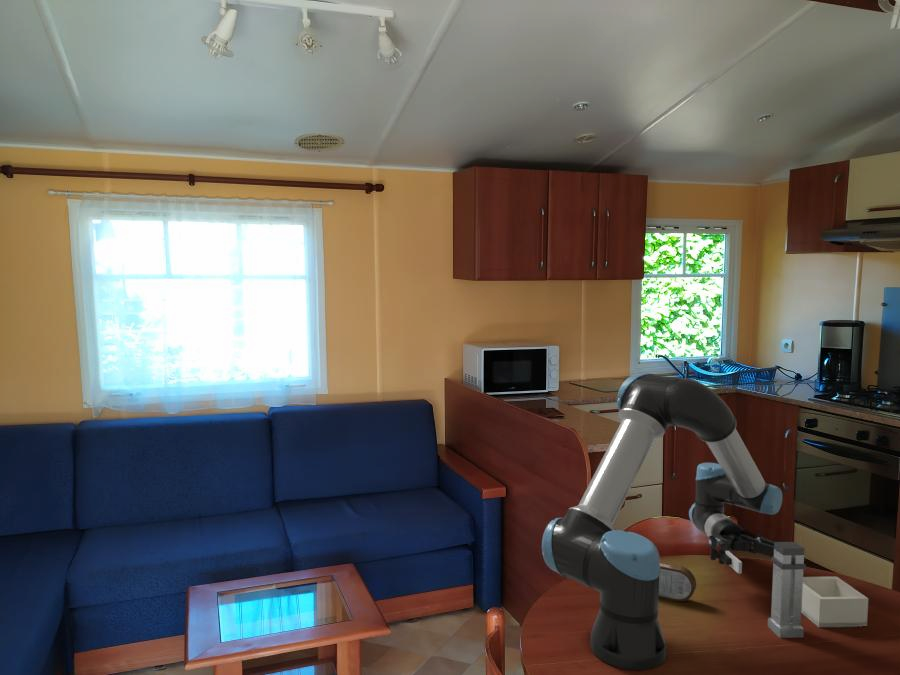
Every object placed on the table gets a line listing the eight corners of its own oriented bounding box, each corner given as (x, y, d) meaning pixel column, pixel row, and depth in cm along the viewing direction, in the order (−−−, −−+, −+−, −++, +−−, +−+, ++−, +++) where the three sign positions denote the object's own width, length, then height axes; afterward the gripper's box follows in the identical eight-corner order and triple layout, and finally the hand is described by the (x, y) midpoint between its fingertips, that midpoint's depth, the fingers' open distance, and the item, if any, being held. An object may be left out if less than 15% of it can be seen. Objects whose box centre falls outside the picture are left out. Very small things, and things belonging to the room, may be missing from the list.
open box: (818, 627, 143) (820, 599, 142) (790, 603, 154) (791, 577, 153) (866, 626, 143) (868, 598, 143) (835, 602, 154) (836, 576, 154)
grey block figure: (779, 637, 138) (783, 549, 137) (767, 626, 143) (771, 541, 142) (803, 637, 139) (807, 549, 137) (790, 625, 143) (794, 540, 142)
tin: (695, 600, 155) (696, 566, 154) (694, 606, 152) (695, 572, 152) (632, 587, 162) (633, 554, 161) (629, 592, 159) (630, 559, 158)
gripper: (770, 546, 170) (820, 582, 149) (678, 547, 169) (715, 584, 148) (772, 518, 170) (822, 551, 149) (679, 519, 168) (716, 552, 147)
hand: (769, 567), depth 148 cm, fingers open, 13 cm apart
